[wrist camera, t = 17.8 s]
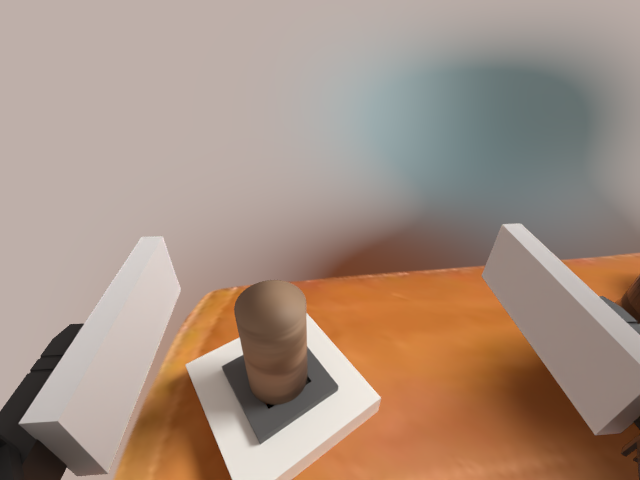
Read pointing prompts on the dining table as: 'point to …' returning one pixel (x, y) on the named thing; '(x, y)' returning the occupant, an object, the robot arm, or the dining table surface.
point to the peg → (273, 340)
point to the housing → (281, 410)
